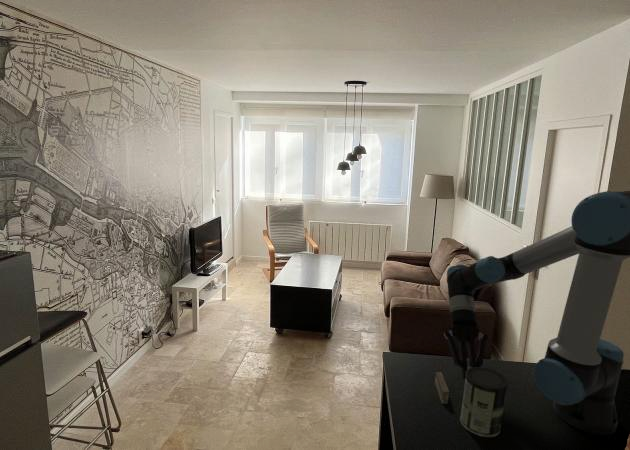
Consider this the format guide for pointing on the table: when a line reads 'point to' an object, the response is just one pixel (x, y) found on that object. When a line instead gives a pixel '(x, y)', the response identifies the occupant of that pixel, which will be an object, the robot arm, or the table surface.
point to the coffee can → (483, 401)
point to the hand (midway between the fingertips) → (471, 391)
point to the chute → (442, 388)
